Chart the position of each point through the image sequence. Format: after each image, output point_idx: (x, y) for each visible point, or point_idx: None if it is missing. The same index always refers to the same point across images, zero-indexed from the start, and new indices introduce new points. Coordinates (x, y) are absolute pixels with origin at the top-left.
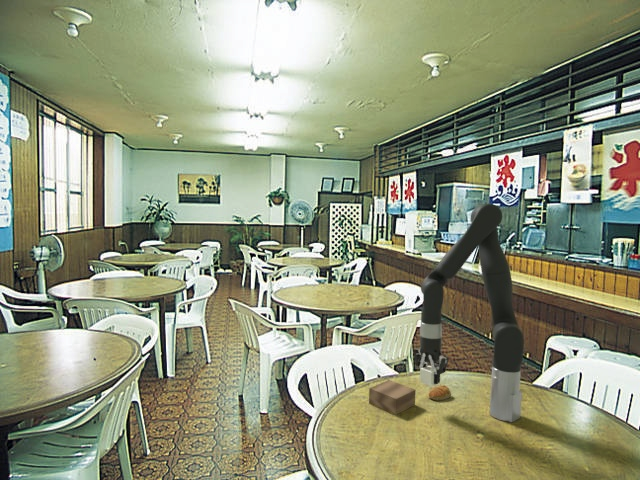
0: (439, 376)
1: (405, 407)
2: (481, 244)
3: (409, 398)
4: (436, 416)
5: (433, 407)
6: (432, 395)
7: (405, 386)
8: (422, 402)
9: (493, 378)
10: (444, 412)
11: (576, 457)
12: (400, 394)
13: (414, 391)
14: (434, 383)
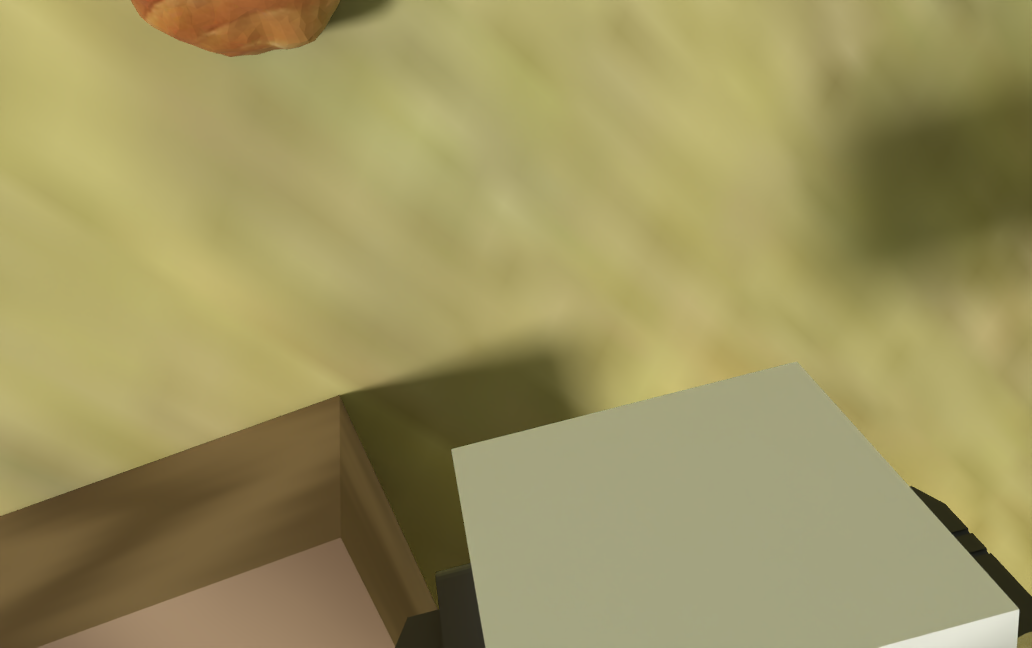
0: (1025, 615)
1: (424, 594)
2: None
3: (402, 600)
4: (742, 327)
5: (520, 195)
6: (269, 31)
7: (144, 625)
8: (309, 246)
9: None
10: (715, 148)
11: None
12: None
13: (351, 545)
14: None
